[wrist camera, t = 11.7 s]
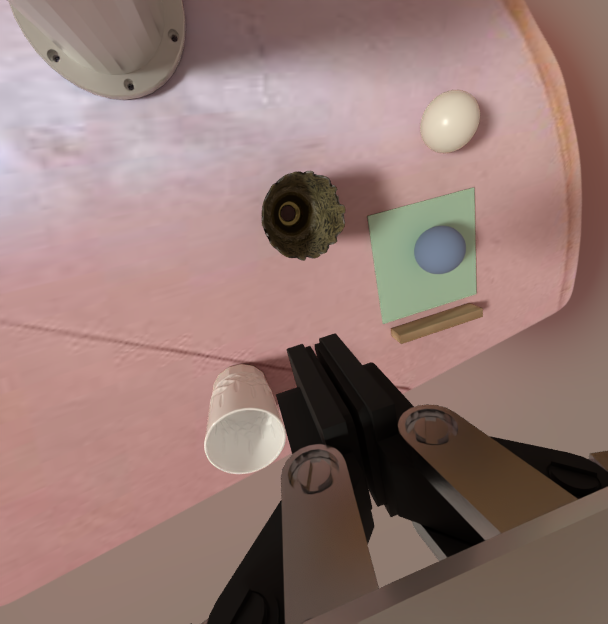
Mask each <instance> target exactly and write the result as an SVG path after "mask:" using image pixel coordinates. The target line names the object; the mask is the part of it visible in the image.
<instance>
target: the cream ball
mask: <svg viewBox="0 0 608 624" xmlns="http://www.w3.org/2000/svg"><path fill="white" fill-rule="evenodd" d="M479 121H480V109H479V106H478V103H477V101H476V99H475V98H474V97H473V96H472V95H471V94H469V93H468V92H465V91H462V90H451V91H447V92H444V93H442V94H440V95H439V96H437V97H436V98H435V99H434V100H432V101H431V103H430V104H429V105H428V106H427V108H426V110H425V111H424V113H423V116H422V119H421V124H420V133H421V137H422V140H423V142H424V143H425V145H426V146H427V147H428V148H429V149H431V150H433V151H435V152H438V153H450V152H453V151H456V150H458V149H460V148H462V147H463V146H464V145H466V144H467V143H468V142H469V141H470V140H471V138H472V137H473V136H474V134H475V132H476V130H477V128H478V125H479Z"/></svg>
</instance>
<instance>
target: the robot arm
mask: <svg viewBox="0 0 608 624" xmlns="http://www.w3.org/2000/svg"><path fill="white" fill-rule="evenodd" d="M7 1H8V2H9V4H10V7H11V9H12V12H13V15H14V17H15V19H16V21H17V23H18V25H19V27H20V28H21V30H22V32H23V34H24V36H25V37H26V39H27V40H28V41H29V43H30V44H31V45H32V47H33V48H34V49H35V51H36V52H37V53H38V54H39V55H40V56H41V57H42V58H43V59H44V61H45V62H46V63H47V64H48V65H49V66H50V67H51V68H53V69H54V70H55V71H56V72H58V73H59V74H60V75H61V76H62V77H64V78H65V79H67V80H68V81H70V82H71V83H73V84H74V85H76V86H77V87H79V88H81V89H83V90H86V91H88V92H90V93H92V94H94V95H98V96H102V97H106V98H110V99H122V100H126V99H134V98H140V97H142V96H145V95H148V94H150V93H153V92H154V91H155V90H157V89H158V88H160V87H161V86H163V85H164V84H165V83H166V82H167V80H168V79H169V78H170V77H171V76H172V75H173V73H174V71H175V69H176V68H177V66H178V64H179V62H180V59H181V56H182V52H183V49H184V42H185V34H186V29H185V14H184V9H183V3H182V0H7ZM173 37H176V38H177V39H178V40H177V41H176V42H173V41H172V38H173ZM56 57H60V60H59V61H58V62H56V60H55V59H56ZM129 85H134V90H129ZM319 342H320V343H318V344H315V350H316V354H317V356H316V355H315V353H314V351H313V350H312V348H311V346H308V347H304V345H303V344H300V345H297V346H294V347H291V348H288V349H287V353H288V356H289V360H290V364H291V367H292V371H293V374H294V378H295V381H296V385H297V388H294V389H291V390H288V391H285V392H282V393H279V394H276V396H277V400H278V404H279V407H280V411H281V414H282V418H283V422H284V425H285V429H286V433H287V436H288V440H289V444H290V447H291V451H292V455H291V457H290V458H289V459H288V460H287V461H286V463H285V465H284V467H283V469H282V474H281V499H282V500H281V501H280V503H279V504H278V506H277V507H276V509H275V510H274V512H273V514H272V515H271V517H270V518H269V520H268V522H267V523H266V525H265V526H264V528H263V529H262V531H261V532H260V534H259V536H258V537H257V539H256V540H255V542H254V543H253V545H252V547H251V548H250V550H249V551H248V553H247V554H246V556H245V558H244V559H243V561H242V562H241V564H240V565H239V567H238V568H237V570H236V571H235V573H234V575H233V576H232V578H231V579H230V581H229V582H228V584H227V585H226V587H225V589H224V591H223V592H222V594H221V595H220V596H219V598H218V600H217V601H216V603H215V605H214V608H213V609H212V611H211V613H210V615H209V618H208V619H207V620H205V621H204V622H202V623H201V624H608V451H603V452H595V453H590V455H589V459H586V458H584V457H581V456H578V455H575V454H571V453H568V452H563V451H558V450H553V449H548V448H543V447H539V446H534V445H529V444H524V443H519V442H514V441H510V440H504V439H500V438H495V437H490V436H488V435H486V434H485V433H484V432H482V431H481V430H479V429H478V428H477V427H475V426H474V425H472V424H471V423H469V422H468V421H467V420H465V419H464V418H462V417H461V416H459V415H458V414H457V413H455V412H453V411H451V410H450V409H448V408H445V407H442V406H438V405H429V404H426V405H418V406H416V407H414V406H413V405H412V404H411V403H410V402H409V401H408V400H407V399H406V398H405V396H404V395H403V394H402V393H401V392H400V391H399V390H398V389H397V388H396V387H395V386H394V384H393V383H392V382H391V381H390V380H389V379H388V378H387V377H386V376H385V375H384V374H383V373H382V371H381V370H380V369H379V368H378V367H377V366H376V365H375V364H374V363H368V364H365V365H362V364H361V363H360V362H359V361H358V359H357V358H356V357H355V356H354V355H353V354H352V352H351V351H350V350H349V349H348V348H347V346H346V345H345V344H344V343H343V342H342V340H341V339H340V338H339V337H338V336H337V334H332V335H329V336H325V337H322V338H319ZM368 489H369V490H368ZM369 491H370V493H371V495H372V497H373V499H374V501H375V503H376V505H377V506H378V507H379V506H381V505H385V507H386V509H387V511H388V513H389V515H390V517H393V516H395V515H399V516H400V517H403V518H405V519H408V520H411V521H412V523H413V526H414V528H415V529H416V531H417V533H418V534H419V536H420V537H421V538H422V540H423V541H424V542H425V543H426V545H427V546H428V547H429V549H430V550H431V551H432V553H433V554H434V555H435V556H436V558H437V559H438V560H439V562H437V563H434V564H432V565H430V566H428V567H426V568H423V569H421V570H419V571H417V572H414V573H412V574H410V575H408V576H405V577H403V578H401V579H399V580H396V581H394V582H392V583H390V584H388V585H385V586H383V587H381V588H379V586H378V583H377V579H376V575H375V571H374V567H373V564H372V560H371V556H370V552H369V548H368V542H369V540H370V537H371V534H372V531H373V528H374V522H373V518H372V512H371V509H372V505H371V499H370V495H369ZM191 624H192V623H191Z"/></svg>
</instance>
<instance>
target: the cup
mask: <svg viewBox="0 0 608 624" xmlns="http://www.w3.org/2000/svg"><path fill="white" fill-rule="evenodd" d="M336 191H337V188H336V187H335V186H334V185H332V184H331V181H330V179H329V178H328V177H326V176H322V175H316V174H314V172H313V171H306V172H304V173H302V172H293V173H290V174H287V175H285V176H283V177H282V178H281V179H279V180H278V181H277V182H276V183H275V184H273V185H272V186H271V188H270V190H269V192H268V193H267V195H266V197H265V199H264V202H263V206H262V226H263V228H264V231H265V234H266V235H267V237H268V239H269V241H270V244H271V245H272V246H273V247H274V248H275V249H277V250H278V251H279V252H280V253H281V254H282V255H284V256H286V257H288V258H298V259H299V260H303V261H304V260H305V259H306V257H309V258H317V257H319V256H320V254H323V253H326V252H327V250H328V248H329V245H331V244H332V245H333V244H334V243H336V242H337V236H338V234H339V233H341V231H342V230H343V228H344V226H345V221H344V213H345V207H344V205H341V204H340V203H339V197H338V196H337V194H336ZM284 206H292V207H293V208H294V210H295V217H294V219H293V220H291V221H285V220H283V219H282V217H281V210H282V208H283V207H284Z"/></svg>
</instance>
